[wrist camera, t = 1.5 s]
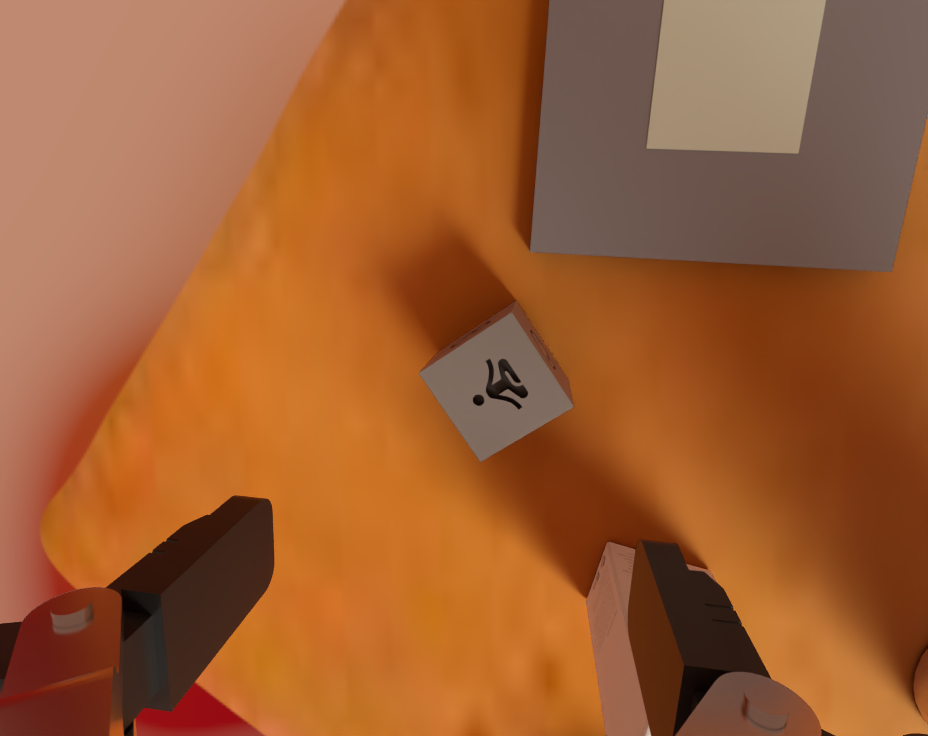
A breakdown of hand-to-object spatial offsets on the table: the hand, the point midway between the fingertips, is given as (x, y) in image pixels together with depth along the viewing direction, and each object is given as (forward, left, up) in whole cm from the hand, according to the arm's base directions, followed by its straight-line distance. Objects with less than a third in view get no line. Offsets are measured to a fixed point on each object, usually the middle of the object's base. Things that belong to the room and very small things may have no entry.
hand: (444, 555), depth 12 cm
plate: (-9, -14, -18) cm, 25 cm away
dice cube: (0, 0, -18) cm, 18 cm away
